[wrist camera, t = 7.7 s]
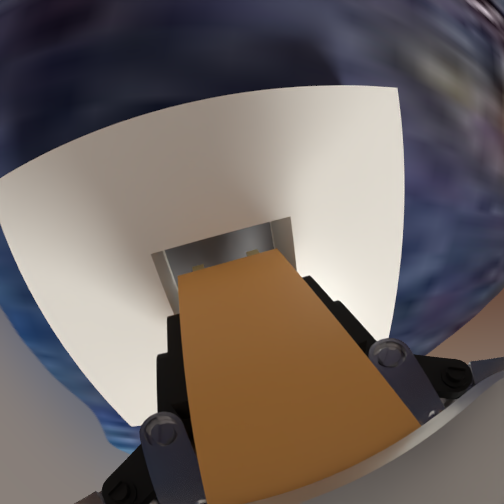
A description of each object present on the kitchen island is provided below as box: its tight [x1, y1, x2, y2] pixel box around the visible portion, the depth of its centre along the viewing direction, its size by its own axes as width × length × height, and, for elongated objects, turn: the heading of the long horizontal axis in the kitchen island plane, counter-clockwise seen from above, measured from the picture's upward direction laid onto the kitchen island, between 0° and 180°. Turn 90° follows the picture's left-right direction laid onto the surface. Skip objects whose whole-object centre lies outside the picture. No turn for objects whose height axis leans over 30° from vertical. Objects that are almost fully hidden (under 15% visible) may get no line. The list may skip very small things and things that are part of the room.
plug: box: [178, 248, 421, 504], centre depth 8 cm, size 4×4×10 cm
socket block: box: [0, 85, 404, 426], centre depth 14 cm, size 16×18×4 cm
